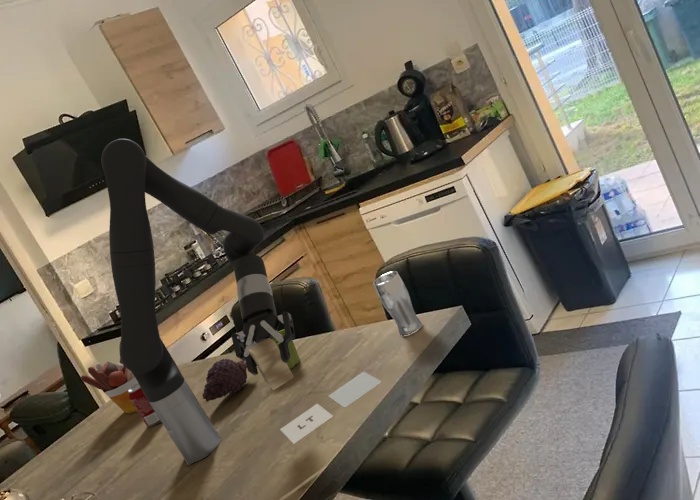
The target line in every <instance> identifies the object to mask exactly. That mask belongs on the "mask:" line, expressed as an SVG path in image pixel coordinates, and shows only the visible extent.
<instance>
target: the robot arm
mask: <svg viewBox="0 0 700 500" xmlns="http://www.w3.org/2000/svg"><path fill="white" fill-rule="evenodd" d="M101 153H102V154H101V156H100V157H101V159H100V160H101V161H100V162H101V166H102V170H103V173H104V177H105V183H106V187H107V193H108V197H109V198H108V199H109V208H110V209H109V213H110V214H109V255H110V266H111V274H112V279H113V285H114V290H115V294H116V297H117V298H116V299H117V303H118V307H119V313H120V333H121V334H120V342H119V346H118V347H119V360H120V359H121V361H122V363H123V364H124V366H125V367H126V368H127V369H129V370H130V371H131V372H132V373H133V375H134V376H135V378H136V380H137V381H138V383H139V385H140V387H141V389H142V391H143V393H144V395H145V397H146V398H147V400H148V401H149V403H150V404H151V406H152V407H153V409H154V411H155V412H156V414H157V415H158V417H159V419H160V420H161V423H162V424H163V427H164V428H165V429H166V432H167V434H168V435H169V438H170V439H171V440H172V442H173V444H174V445H175V447H176V448H177V449H178V451H179V452H180V454H181V456H182V457H183V459H184V460H185V462H186V463H187V465H188V466H190V465H192V464H193V463H196V462H199V461H201V460H203V459H204V458H206V457H207V456H209V455H211V454H212V452H213V451H214V450H215V449H216V448H217V447H218V446H219V444H220V443H221V440H222V438H221V435H220V434H219V433H218V431H217V430H216V428H215V426H214V424H213V423H212V422H211V419H210V418H209V416H208V414H207V413H206V411H205V410H204V408H203V407H202V404H200V402H199V400H198V398H197V397H196V395H195V393H194V392H193V390H192V389H191V387H190V386H189V383H188V382H187V380H186V379H185V377H184V375H183V374H182V372H181V370H180V369H179V367H178V365H177V364H176V361H175V360H174V358H173V356H172V355H171V353H170V352H169V350H168V348H167V347H166V345H165V343H164V342H163V340H162V338H161V336H160V330H159V327H158V321H157V320H158V319H157V314H156V288H157V287H156V260H155V259H156V258H155V246H154V240H153V233H152V229H151V223H150V220H149V214H148V211H147V203H146V194H147V195H149V196H151V197H152V198H154V199H156V200H157V201H158V202H160V203H162V204H163V205H164V206H166V207H167V208H169V209H170V210H171V211H173V212H174V213H176V214H177V215H178V216H179V217H180V218H182V219H184V220H185V221H187V222H189V223H191V225H193V226H195V227H196V228H198V229H199V230H201V231H203V232H204V233H206V234H208V235H215V234H217V233H219V232H221V231H225V232H227V234H226V235H225V237H224V239H223V242H222V243H223V252H224V254H225V256H226V258H227V259H228V261H229V264H230V266H231V267H232V269H233V271H234V277H235V281H236V283H235V284H236V291H237V297H238V299H237V300H238V303H239V304H238V305H239V309H240V314H241V319H242V320H241V321H242V323H243V327H242V330H241V331H239V332H237V333H236V332H232V333H231V340H232V341H231V342H232V344H233V349H234V352H235V357H236V358H239V359H240V360H241V361H242V360H246V364H247V369H246V370H247V371H248V373H251V375H253V376H257V375H258V374H259V369H258V367H257V365H256V363H255V361H254V360H253V358H252V356H251V354H250V352H249V351H248V349H249V348H251V347H252V346H254V345H256V344H257V343H259V342H260V341H262V340H264V339H266V338H270V339H273V337H274V338H275V339H276V340H278V341H279V343H280V344H279V350H280V354H281V359H282V361H283V362H285V363H287V362H289V359H290V352H289V347H288V343H289V342H290V341H291V340H293V341H295V339H296V333H295V326H294V322H293V321H294V320H293V315H292V314H290V313H289V312H287V311H286V310H284V311H283V312H282V313H281V314H280V315H278V314H277V309H276V306H275V300H274V296H273V293H274V292H273V290H272V287H271V284H270V282H269V279H268V274H267V270H266V269H267V268H266V266H265V265H266V264H265V262H264V260H263V258H262V257H261V256H259V255H258V254H254V253H253V254H252V252H254V251H255V249H256V248H257V247H258V246H259V245H261V244H262V242H263V240H264V239H265V230H264V228H263V226H262V225H261V224H260V222H259V221H257V220H256V219H254V218H252V217H250V216H248V215H246V214H242V213H239V212H236V211H235V210H231V209H228V208H226V207H223V206H221V205H220V204H218V203H217V202H216V201H214V200H212V199H211V198H209V197H208V196H207V195H204V194H203V193H201V192H200V191H198V190H197V189H194V188H193V187H191V186H189V185H187V184H186V183H183V182H182V181H180V180H178V179H176V178H175V177H173V176H171V174H168V173H167V172H166V171H164V170H163V169H162V168H160V167H159V166H157V165H156V164H155V163H154V162H153V161H152V160H151V159H150V158H148V157H147V155H146V154H145V151H144V150H143V148H142V147H141V146H140V145H139V144H138V143H137V142H135V141H133V140H131V139H128V138H118V139H115V140H112V141H111V142H109V143H108V144H107V145H106V146H105V147H104V149H103V151H102V152H101ZM280 323H282V324H283V327H284V329H285V335H284V336H282V335H281V334H280V333H279V332H278V331H279V330H278V328H279V325H280ZM284 329H283V330H284ZM245 337H247V338H246V342H245ZM244 342H245V346H244Z"/></svg>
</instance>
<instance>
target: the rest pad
mask: <svg viewBox="0 0 700 500" xmlns="http://www.w3.org/2000/svg"><path fill="white" fill-rule="evenodd" d="M381 381H382V380H380V379H378V378H377V377H375V376H372V375H371V374H369V373H368V372H366V371H362V372H360V373H359V374H358V375H357V376H355V377H354V378H352V379H351V380H349V381H348V382H346V383H344V384H343V385H342V386H341V387H339V388H337V389H335V390H334V392H331V393H330V394H329V395H328V397H329V398H331V399H332V400H333V401H334V402H336V403H337V404H338V405H340V406H341V407H343V408H347V407H348V406H349V405H351V404H353V403H354V402H355V401H357V400H358V399H359V398H361V397H362V396H364V395H365V394H367V393H368V392H370V391H371V390H372V389H374V388H375V387H377V386H378V385H379V384H381V383H382V382H381ZM380 382H381V383H380Z"/></svg>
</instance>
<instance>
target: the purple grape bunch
mask: <svg viewBox="0 0 700 500" xmlns="http://www.w3.org/2000/svg"><path fill="white" fill-rule="evenodd" d="M247 370H248V369H247V364H246V360H242V359H241V360H239V361H237V362H236V361H234V360H233V359H230V358H229V359H228V358H225V359H224V358H223V359H219V361H215V362H214V363H213V364H212V366H211V367H210V368H209V369H208V370H207V375H206V377H205V381H206V383H205V384H204V388H203V393H202V399H203V400H205V401H206V402H207V403H208V402H209V401H214V400H216V399H220V398H223V397H226V396H227V395H228V394H230V393H232V394H236V393H237V392H239V391H240V390H242V388H244V387H245V385H246V384H247V379H248V374H247Z"/></svg>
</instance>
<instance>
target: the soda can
mask: <svg viewBox="0 0 700 500" xmlns="http://www.w3.org/2000/svg"><path fill="white" fill-rule="evenodd" d="M128 393H129V399H130V401H131V402H132V404H133V405H134V407H135V408H136V410H137V414H138V415H139V416H140V418H141V419H142V421H143V423H144V424H145V426H147V427H155V426H157V425H159V424H160V423H162V422H161V420H160V419H159V417H158V415H157V414H156V412H155V411H154V409H153V407H152V406H151V404H150V403H149V401H148V400H147V398H146V397H145V395H144V393H143V391H142V389H141V387H140V385H139V383H137V384H135V385H134V386H132V387H131V388H130V389H129V390H128Z"/></svg>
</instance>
